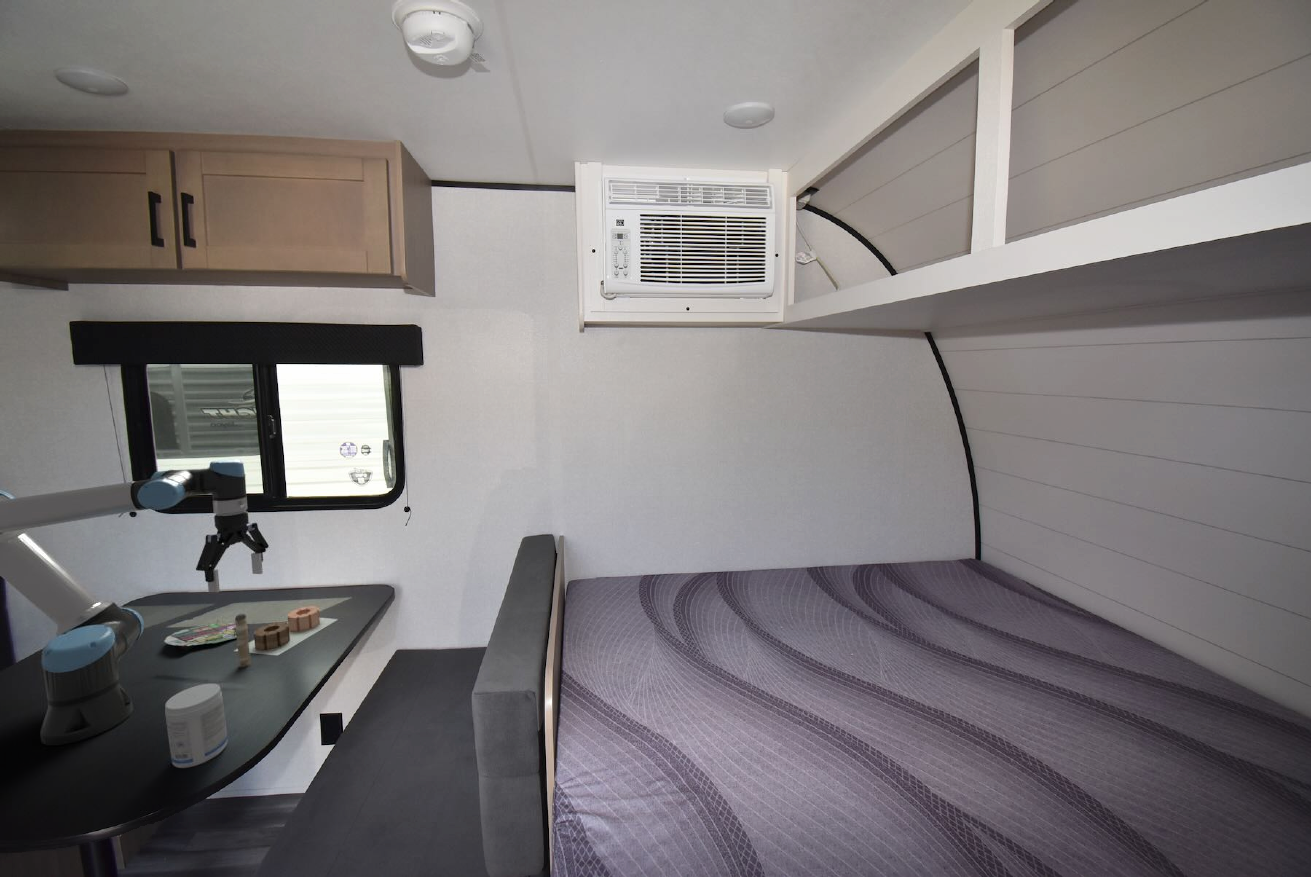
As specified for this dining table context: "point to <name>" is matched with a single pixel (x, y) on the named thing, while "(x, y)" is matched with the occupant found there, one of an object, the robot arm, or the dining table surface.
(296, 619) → the terracotta bead
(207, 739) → the supplement tub
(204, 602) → the dining table surface
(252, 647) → the board
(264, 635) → the walnut bead
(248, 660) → the wooden dowel rod
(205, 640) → the city model
